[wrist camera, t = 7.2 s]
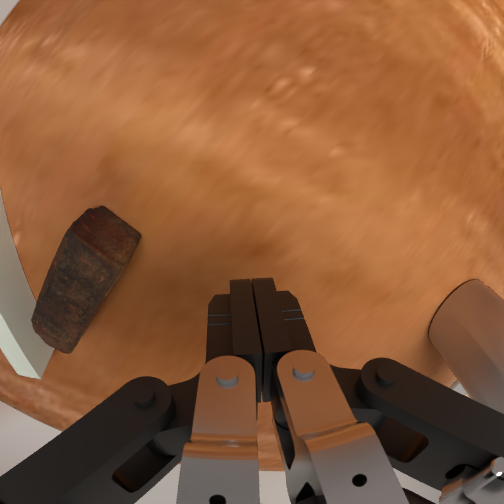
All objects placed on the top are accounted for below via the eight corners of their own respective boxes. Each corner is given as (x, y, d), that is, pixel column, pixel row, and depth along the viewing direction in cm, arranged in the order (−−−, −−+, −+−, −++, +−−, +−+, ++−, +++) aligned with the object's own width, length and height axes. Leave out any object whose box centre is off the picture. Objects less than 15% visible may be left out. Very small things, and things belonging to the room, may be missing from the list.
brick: (98, 197, 16) (65, 226, 12) (145, 233, 17) (125, 271, 13) (47, 298, 19) (23, 335, 15) (84, 324, 20) (66, 364, 16)
